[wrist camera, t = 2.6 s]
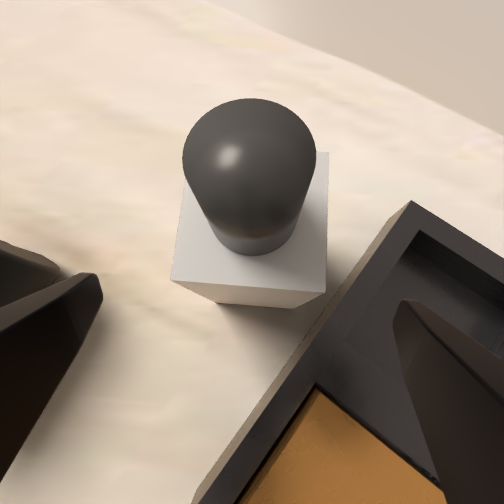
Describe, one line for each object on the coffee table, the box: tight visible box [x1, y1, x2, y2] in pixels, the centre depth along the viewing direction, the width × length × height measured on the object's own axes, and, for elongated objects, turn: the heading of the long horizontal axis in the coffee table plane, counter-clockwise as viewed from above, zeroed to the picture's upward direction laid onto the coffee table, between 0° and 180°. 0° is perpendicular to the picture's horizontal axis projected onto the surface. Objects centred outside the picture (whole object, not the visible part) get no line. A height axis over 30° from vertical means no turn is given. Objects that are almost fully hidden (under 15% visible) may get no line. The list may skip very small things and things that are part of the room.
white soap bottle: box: [170, 98, 329, 309], centre depth 13 cm, size 5×5×13 cm
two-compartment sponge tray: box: [191, 200, 504, 504], centre depth 15 cm, size 10×20×4 cm, turn 142°
